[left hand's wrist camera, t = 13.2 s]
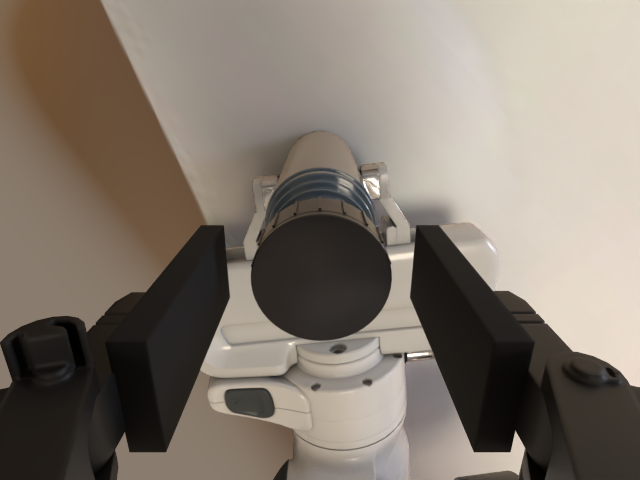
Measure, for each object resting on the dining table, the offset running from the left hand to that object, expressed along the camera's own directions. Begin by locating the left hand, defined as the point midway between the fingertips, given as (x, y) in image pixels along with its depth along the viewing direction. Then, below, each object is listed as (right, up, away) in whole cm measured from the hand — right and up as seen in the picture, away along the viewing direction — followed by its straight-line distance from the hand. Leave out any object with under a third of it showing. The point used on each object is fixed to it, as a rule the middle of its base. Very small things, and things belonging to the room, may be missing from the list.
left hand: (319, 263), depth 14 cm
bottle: (0, +6, +16) cm, 17 cm away
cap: (0, 0, -1) cm, 1 cm away
